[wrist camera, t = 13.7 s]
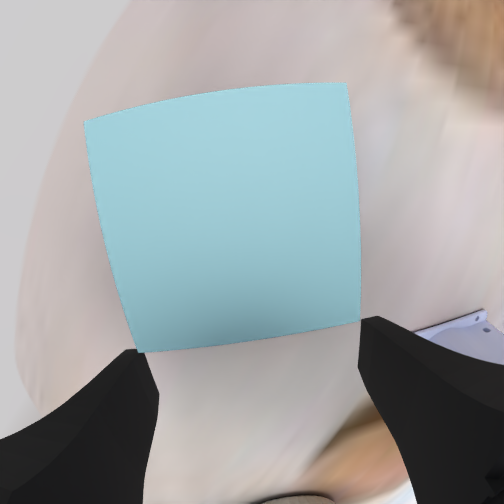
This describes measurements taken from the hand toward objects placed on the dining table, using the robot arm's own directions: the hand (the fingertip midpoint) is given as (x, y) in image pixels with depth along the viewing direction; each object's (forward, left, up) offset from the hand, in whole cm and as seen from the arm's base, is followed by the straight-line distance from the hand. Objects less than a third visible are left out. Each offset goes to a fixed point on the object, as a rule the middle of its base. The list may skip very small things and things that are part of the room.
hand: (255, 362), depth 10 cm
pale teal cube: (0, -5, -3) cm, 6 cm away
